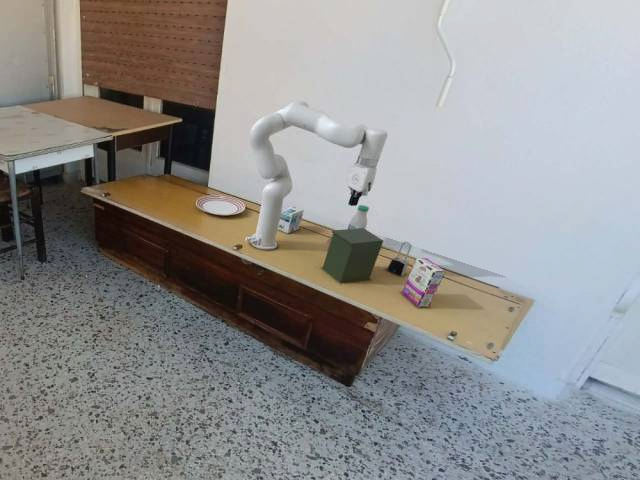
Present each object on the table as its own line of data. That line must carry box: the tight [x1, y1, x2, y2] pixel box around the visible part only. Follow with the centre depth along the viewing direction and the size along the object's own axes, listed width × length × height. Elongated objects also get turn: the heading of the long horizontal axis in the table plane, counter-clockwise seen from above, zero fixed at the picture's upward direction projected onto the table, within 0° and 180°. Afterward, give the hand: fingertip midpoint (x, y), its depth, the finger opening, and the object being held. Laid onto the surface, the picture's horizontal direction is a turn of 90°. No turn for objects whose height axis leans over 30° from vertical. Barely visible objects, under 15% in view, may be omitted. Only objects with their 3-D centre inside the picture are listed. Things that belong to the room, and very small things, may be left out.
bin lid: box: [331, 228, 384, 245], centre depth 190 cm, size 15×13×1 cm
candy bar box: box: [401, 257, 446, 308], centre depth 180 cm, size 11×5×16 cm, turn 5°
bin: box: [322, 233, 384, 284], centre depth 195 cm, size 15×13×18 cm
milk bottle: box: [347, 204, 370, 230], centre depth 220 cm, size 8×8×20 cm
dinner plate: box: [195, 194, 246, 217], centre depth 257 cm, size 28×27×3 cm
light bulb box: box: [277, 205, 304, 234], centre depth 235 cm, size 11×7×11 cm, turn 129°
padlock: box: [386, 241, 412, 277], centre depth 199 cm, size 7×4×15 cm, turn 37°
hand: (352, 204), depth 190 cm, fingers closed
